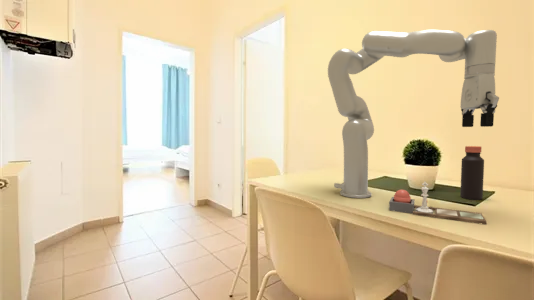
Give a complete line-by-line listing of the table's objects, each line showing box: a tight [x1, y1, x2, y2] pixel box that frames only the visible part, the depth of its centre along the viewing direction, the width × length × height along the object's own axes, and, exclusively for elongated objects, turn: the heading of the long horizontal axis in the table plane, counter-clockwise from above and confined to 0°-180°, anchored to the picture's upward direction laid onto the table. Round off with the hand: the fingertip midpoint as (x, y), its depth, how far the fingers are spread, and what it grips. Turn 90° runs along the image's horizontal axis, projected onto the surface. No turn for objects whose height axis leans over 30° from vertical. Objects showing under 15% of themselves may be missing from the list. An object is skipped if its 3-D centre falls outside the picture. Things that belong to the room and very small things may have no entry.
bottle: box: [460, 145, 485, 201], centre depth 101 cm, size 7×7×20 cm
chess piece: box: [415, 181, 434, 214], centre depth 84 cm, size 5×5×10 cm
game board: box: [412, 204, 487, 225], centre depth 82 cm, size 18×9×1 cm, turn 58°
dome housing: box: [388, 196, 416, 215], centre depth 88 cm, size 7×7×3 cm
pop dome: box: [393, 189, 412, 203], centre depth 88 cm, size 5×5×5 cm
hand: (476, 126), depth 84 cm, fingers open, 9 cm apart
